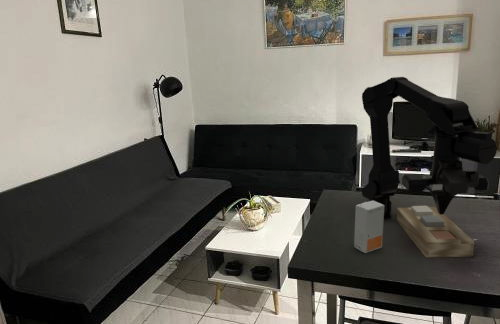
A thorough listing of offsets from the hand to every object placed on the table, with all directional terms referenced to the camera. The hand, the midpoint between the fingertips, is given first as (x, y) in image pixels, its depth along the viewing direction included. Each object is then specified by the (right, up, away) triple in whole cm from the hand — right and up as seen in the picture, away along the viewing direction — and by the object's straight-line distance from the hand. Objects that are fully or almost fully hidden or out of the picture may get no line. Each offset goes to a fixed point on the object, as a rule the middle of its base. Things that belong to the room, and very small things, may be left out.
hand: (440, 213), depth 95 cm
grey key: (+1, -4, +6) cm, 8 cm away
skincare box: (-17, -9, +3) cm, 20 cm away
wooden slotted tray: (+1, -7, +7) cm, 10 cm away
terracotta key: (0, -7, 0) cm, 7 cm away
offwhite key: (+1, -2, +13) cm, 13 cm away
